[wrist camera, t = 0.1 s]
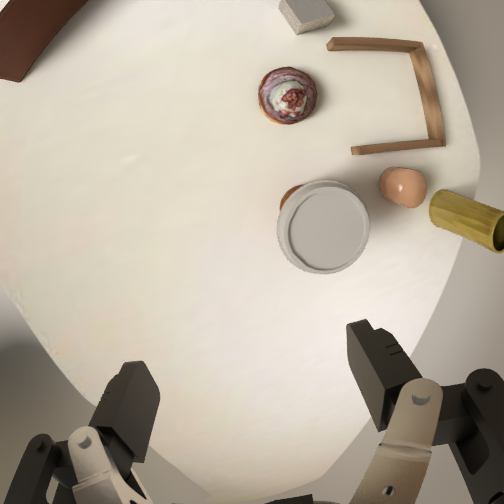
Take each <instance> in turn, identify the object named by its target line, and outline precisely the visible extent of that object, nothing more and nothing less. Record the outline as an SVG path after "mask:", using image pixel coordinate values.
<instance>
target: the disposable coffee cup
mask: <svg viewBox="0 0 504 504" xmlns="http://www.w3.org/2000/svg"><path fill="white" fill-rule="evenodd" d="M369 231H370V225H369V217H368V212H367V209H366V206H365V204H364V202H363V201H362V199H361V197H360V196H359V195H358V194H357V193H356V192H355V191H354V190H353V189H351V188H350V187H348V186H347V185H345V184H343V183H340V182H337V181H331V180H319V181H313V182H310V183H308V184H306V185H299V186H295V187H293V188H291V189H290V190H288V191H287V192H286V194H285V195H284V196H283V198H282V200H281V204H280V214H279V217H278V222H277V237H278V241H279V245H280V248H281V250H282V252H283V253H284V255H285V256H286V258H287V259H288V260H289V261H290V262H291V263H292V264H293V265H295V266H296V267H298V268H299V269H301V270H303V271H306V272H309V273H314V274H332V273H336V272H339V271H342V270H344V269H345V268H347V267H349V266H350V265H351V264H353V263H354V262H355V261H356V260H357V259H358V258H359V257H360V255H361V254H362V252H363V251H364V249H365V246H366V244H367V241H368V238H369Z"/></svg>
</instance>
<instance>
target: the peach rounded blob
mask: <svg viewBox="0 0 504 504" xmlns="http://www.w3.org/2000/svg"><path fill="white" fill-rule="evenodd" d="M379 186H380V191H381V193H382V195H383V196H384V197H385V198H386V199H387V200H389V201H392V202H394V203H397V204H399V205H402V206H405V207H407V208H415V207H418V206H419V205H420V204H421V203H422V202H423V201H424V199H425V197H426V193H427V185H426V181H425V179H424V177H423V175H422V174H421V173H419V172H418V171H416V170H411V169H404V168H398V167H391V168H388V169H386V170H385V171H384V172H383V174H382V175H381V178H380V183H379Z"/></svg>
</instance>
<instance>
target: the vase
mask: <svg viewBox="0 0 504 504" xmlns="http://www.w3.org/2000/svg"><path fill="white" fill-rule="evenodd" d="M429 216H430V219H431V221H432V222H433V224H434V225H436V226H437V227H440V228H443V229H445V230H448V231H450V232H453V233H455V234H457V235H460V236H462V237H465V238H467V239H469V240H471V241H474V242H476V243H478V244H480V245H482V246H484V247H486V248H488V249H489V250H491V251H493V252H495V253H502V252H504V211H501V210H499V209H496V208H492V207H490V206H487V205H485V204H482V203H479V202H477V201H474V200H471V199H468V198H466V197H463V196H461V195H458V194H455V193H452V192H450V191H448V190H440V191H438V192H437V193H436V194H435V195H434V196H433V197H432V199H431V202H430V205H429Z"/></svg>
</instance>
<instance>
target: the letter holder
mask: <svg viewBox="0 0 504 504" xmlns="http://www.w3.org/2000/svg"><path fill="white" fill-rule="evenodd" d="M87 1H88V0H10V1H9V2H8V3H7V4H6V6H5V7H4V8H3V9H2V11H1V12H0V79H5V80H9V81H14V82H19V83H20V82H21V80H22V79H23V77H24V75H25V74H26V73H27V71H28V70H29V68H30V67H31V65H32V64H33V63H34V61H35V60H36V59H37V57H38V56H39V55H40V53H41V52H42V51H43V49H44V48H45V47H46V46H47V45H48V43H49V42H50V41H51V40H52V38H53V37H54V36H55V35H56V34H57V33H58V32H59V30H60V29H61V28H62V27H63V26H64V25H65V24H66V23H67V22H68V20H69V19H70V18H71V17H72V16H73V15H74V14H75V13H76V12H77V11H78V10H79V9H80V8H81V7H82V6H83V5H84V4H85V3H86V2H87Z"/></svg>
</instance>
